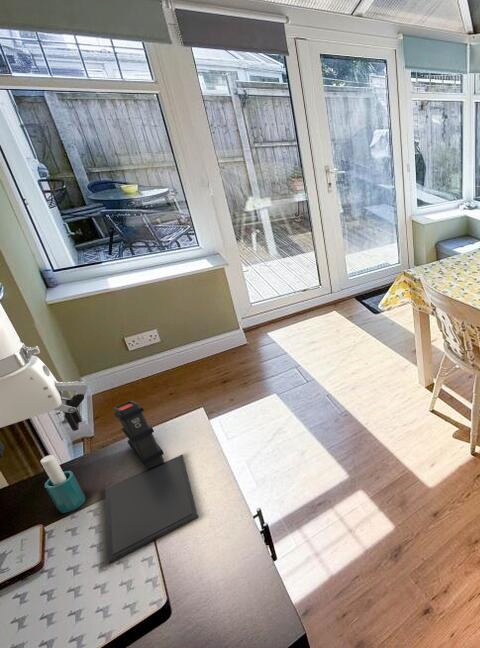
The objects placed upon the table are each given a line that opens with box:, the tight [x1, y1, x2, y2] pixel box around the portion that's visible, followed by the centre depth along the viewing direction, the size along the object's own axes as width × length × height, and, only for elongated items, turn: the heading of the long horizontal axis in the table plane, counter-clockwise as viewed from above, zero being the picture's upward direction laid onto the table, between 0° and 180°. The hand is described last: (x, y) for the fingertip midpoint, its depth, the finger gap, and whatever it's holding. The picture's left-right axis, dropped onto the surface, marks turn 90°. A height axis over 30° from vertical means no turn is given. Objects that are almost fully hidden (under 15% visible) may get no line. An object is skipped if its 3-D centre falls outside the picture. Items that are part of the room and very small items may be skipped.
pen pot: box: [44, 470, 87, 514], centre depth 81 cm, size 4×4×7 cm
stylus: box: [39, 454, 67, 486], centre depth 80 cm, size 2×2×12 cm
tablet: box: [104, 454, 199, 564], centre depth 83 cm, size 13×19×1 cm
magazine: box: [113, 400, 165, 470], centre depth 92 cm, size 4×13×15 cm, turn 54°
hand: (39, 439), depth 76 cm, fingers open, 9 cm apart
